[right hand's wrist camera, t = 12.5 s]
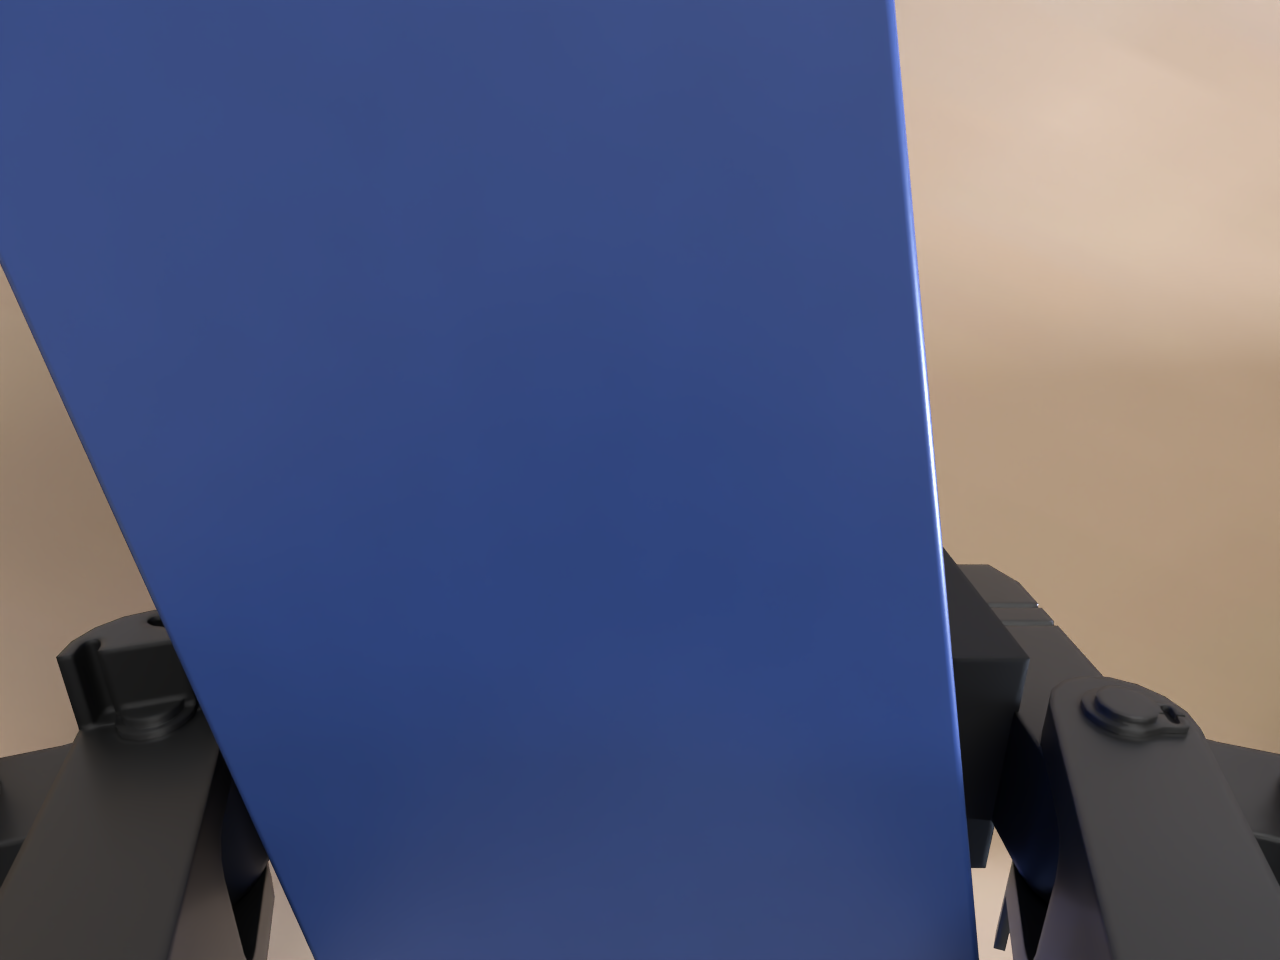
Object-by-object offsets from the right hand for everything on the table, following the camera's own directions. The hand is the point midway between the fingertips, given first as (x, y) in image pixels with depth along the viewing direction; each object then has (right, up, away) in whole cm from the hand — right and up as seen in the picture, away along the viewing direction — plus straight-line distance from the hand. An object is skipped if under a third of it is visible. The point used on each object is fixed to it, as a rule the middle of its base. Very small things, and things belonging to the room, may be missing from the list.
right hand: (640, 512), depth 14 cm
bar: (-3, +13, -4) cm, 14 cm away
